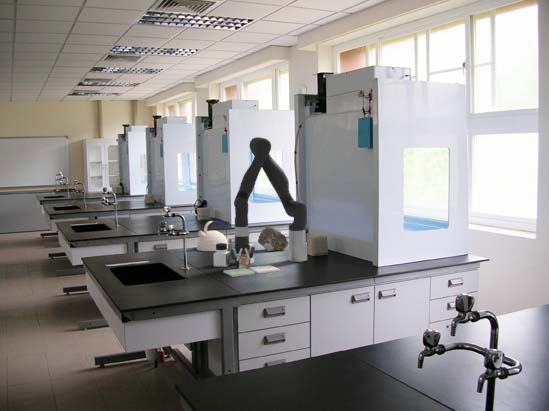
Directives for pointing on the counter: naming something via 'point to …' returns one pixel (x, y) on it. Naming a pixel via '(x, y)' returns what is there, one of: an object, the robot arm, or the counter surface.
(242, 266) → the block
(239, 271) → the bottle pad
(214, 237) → the kettle
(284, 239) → the rock
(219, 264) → the medicine bottle
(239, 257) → the small box
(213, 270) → the counter surface
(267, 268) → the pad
